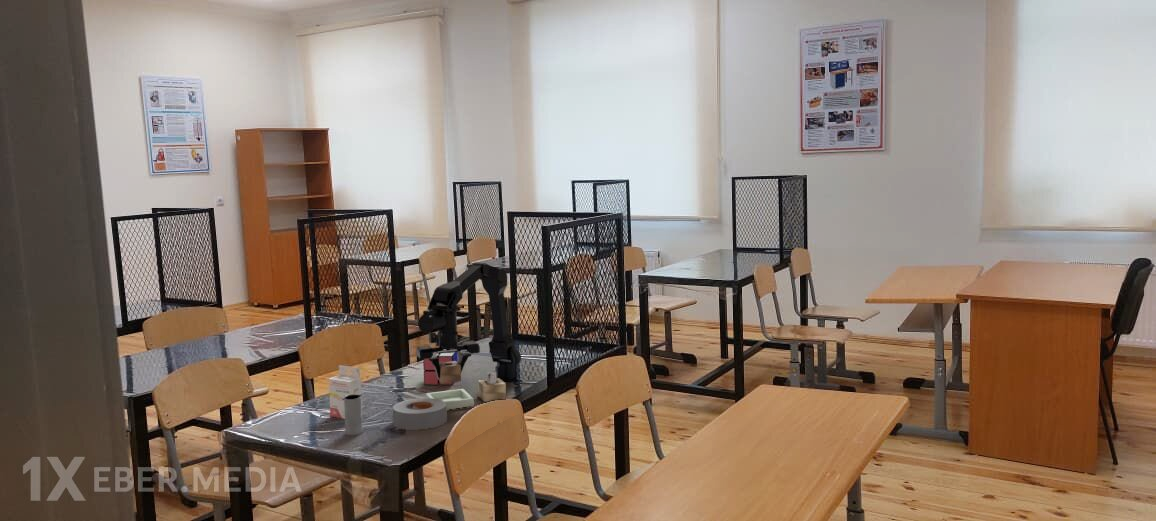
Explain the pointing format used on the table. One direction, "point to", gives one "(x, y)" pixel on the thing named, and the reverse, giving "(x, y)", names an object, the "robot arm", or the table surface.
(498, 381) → the bore block
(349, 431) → the grey tall cylinder
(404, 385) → the table surface
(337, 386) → the ink cartridge box
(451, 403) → the tray
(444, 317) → the robot arm
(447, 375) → the block
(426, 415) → the tape roll
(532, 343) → the table surface
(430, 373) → the puzzle cube
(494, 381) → the pin
